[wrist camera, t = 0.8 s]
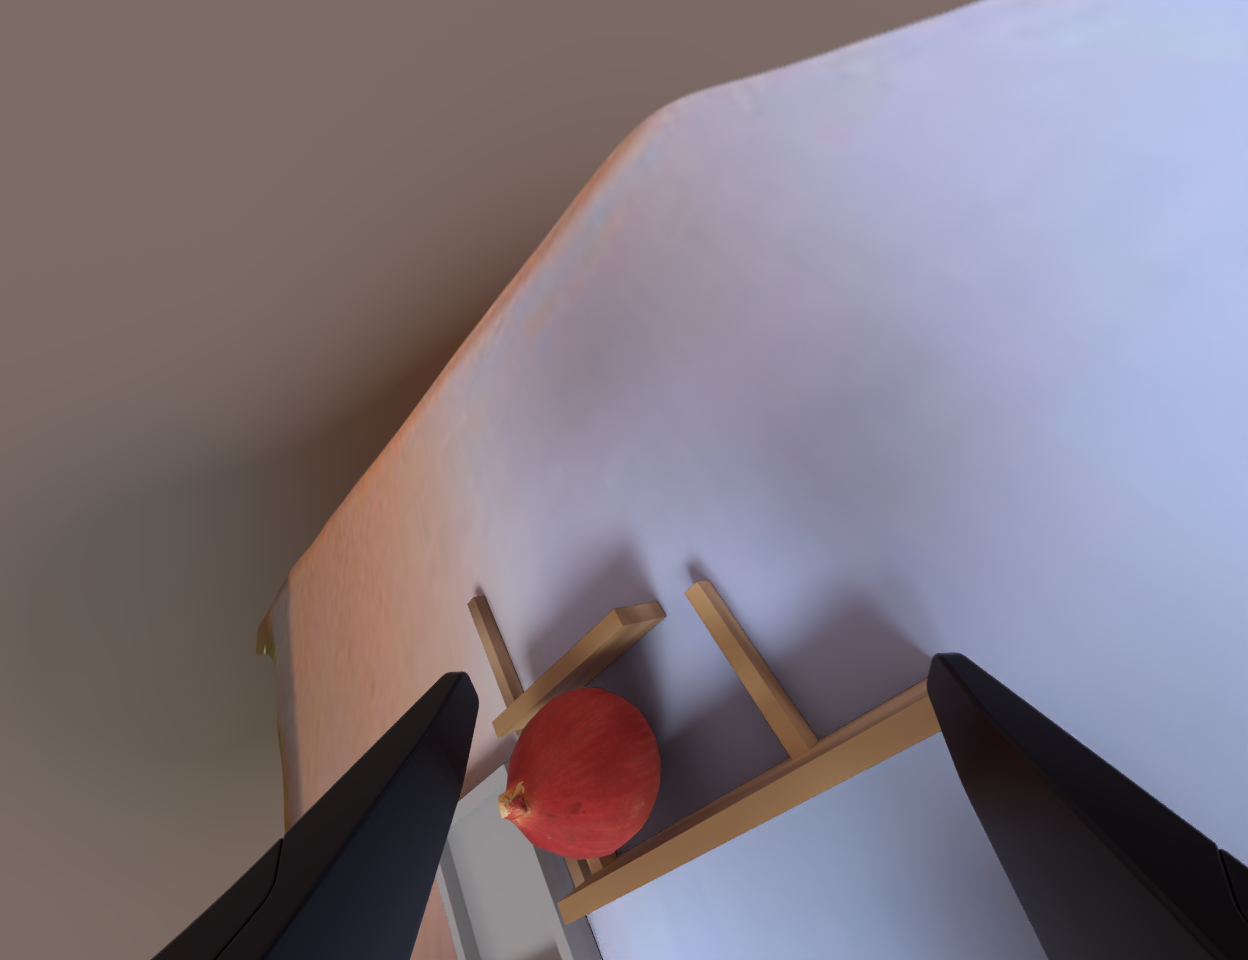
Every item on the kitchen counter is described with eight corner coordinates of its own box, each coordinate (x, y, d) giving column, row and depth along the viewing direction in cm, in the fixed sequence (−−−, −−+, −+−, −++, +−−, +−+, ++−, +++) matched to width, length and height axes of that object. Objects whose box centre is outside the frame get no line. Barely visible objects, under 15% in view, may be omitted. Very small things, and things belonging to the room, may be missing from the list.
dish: (603, 963, 22) (582, 985, 21) (498, 1009, 26) (476, 1030, 25) (524, 754, 27) (503, 763, 26) (444, 820, 30) (424, 830, 29)
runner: (600, 881, 23) (588, 890, 22) (590, 886, 23) (578, 896, 22) (484, 595, 30) (473, 597, 30) (478, 602, 31) (467, 604, 30)
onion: (668, 839, 21) (523, 969, 14) (581, 748, 24) (434, 820, 18) (715, 724, 20) (584, 808, 14) (618, 647, 23) (478, 685, 17)
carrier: (964, 691, 15) (956, 722, 12) (614, 882, 22) (565, 925, 20) (785, 488, 19) (752, 480, 16) (540, 704, 26) (491, 722, 24)
